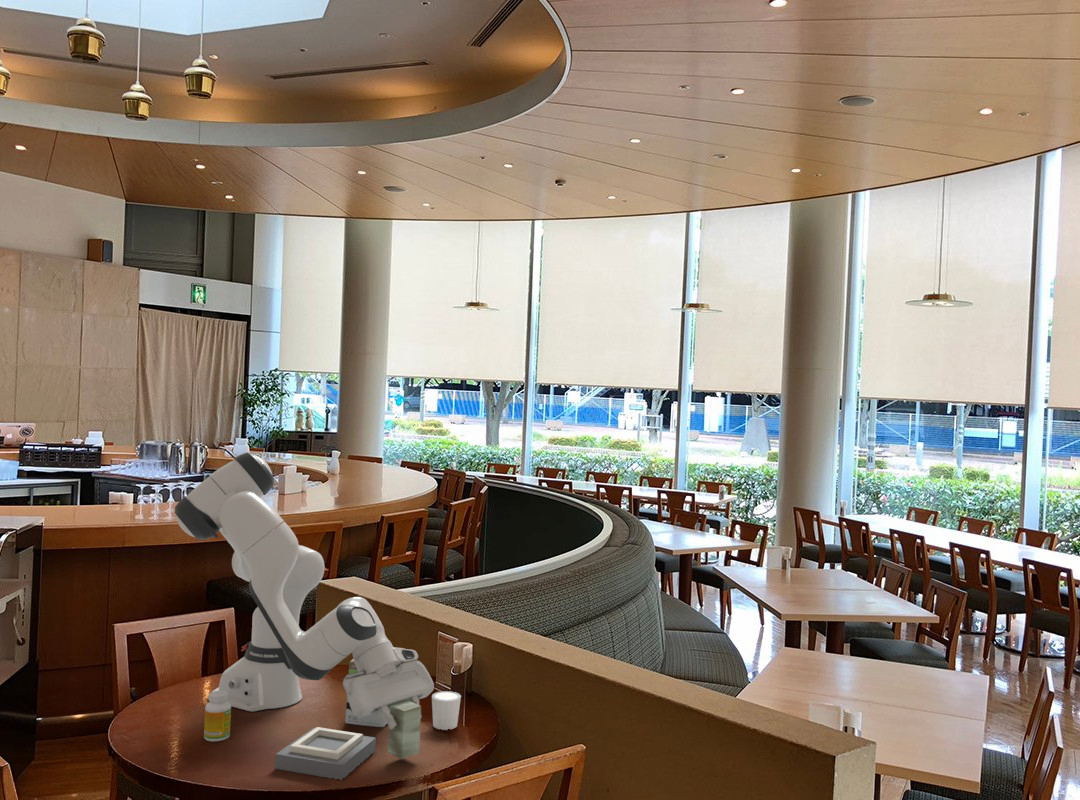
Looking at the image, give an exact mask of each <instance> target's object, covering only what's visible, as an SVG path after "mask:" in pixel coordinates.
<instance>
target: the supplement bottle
mask: <svg viewBox="0 0 1080 800" xmlns="http://www.w3.org/2000/svg"><path fill="white" fill-rule="evenodd" d="M212 691H213V690H212ZM212 691H211V692H209V694H208V698H209V700H208V702H207V704H205V707H204V709H205V710H204V722H203V723H204V725H203V726H204V727H203V729H204V730H203V738H204V739H205V741H207V742H220V741H225V740H226V739H228V738H230V735H231V718H232V706H231V703H230V702H229V701H227V700H228V692H227V691H213V692H212Z"/></svg>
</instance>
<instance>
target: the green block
mask: <svg viewBox="0 0 1080 800" xmlns="http://www.w3.org/2000/svg"><path fill="white" fill-rule="evenodd" d="M390 714H391V715H392V716H393V717H397V718H398V721H399V723H400V724H399V726H398V727H397V728H394V729H390V727H389V726H388V743H387V744H388V747H387V753H388V754H390V755H392V756H394V757H397V758H398V759H401V760H404V759H407V758H409V757H412V756H415V755H418V754H419V753H420V745H421V744H420V743H421V740H420V739H421V718H422V717H421V716H422V705H420V704H419V705H418V704H415V703H413V702H410V701H408V700H406V701H403V702H399V703H396V704H393V705H390Z"/></svg>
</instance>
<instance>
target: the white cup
mask: <svg viewBox="0 0 1080 800" xmlns="http://www.w3.org/2000/svg"><path fill="white" fill-rule="evenodd" d="M461 698H462V695H461V694H460V693H458V692H456V691H455V692H454V691H451V690H450V691H448V690H447V691H446V690H444V691H436V692H434V693H432V695H431V708H432V726H433V728H435V729H437V730H440V729H441V730H442V731H449V730H448V729H450V730H453V729H455V728H457V727H458V722H459V714H460V705H461Z"/></svg>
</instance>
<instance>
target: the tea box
mask: <svg viewBox="0 0 1080 800" xmlns="http://www.w3.org/2000/svg"><path fill="white" fill-rule="evenodd" d="M393 648H394V646H393ZM400 648H401V649H406V648H404V647H400ZM348 664H349V665H348V674H351V673H355V672H358V669H357V667H356V665H355V663H354V657H353V658H352V659H351V660H349V663H348ZM388 712H389V713H390V709H389V710H388ZM344 722H345V724H349V725H355V726H364V727H365V726H366V727H376V728H385V726H386V725H388V723H387V722H385V721H384V720H383V719H381V718H380V717H379V715H378V713H374V714H370V715H367V716H364V717H361V718H358V717H356V716H355V715H354V714H353V712H352V710H351V707H350V704H349V701H348V697H347V696H346V708H345V721H344Z"/></svg>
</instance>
